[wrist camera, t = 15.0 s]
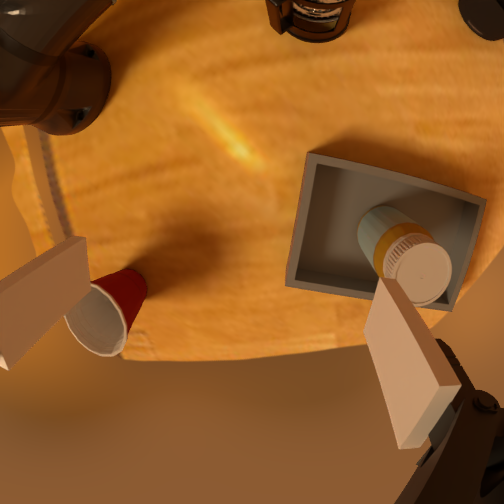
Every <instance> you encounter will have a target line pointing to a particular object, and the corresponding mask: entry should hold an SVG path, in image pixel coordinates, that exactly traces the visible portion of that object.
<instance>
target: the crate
mask: <svg viewBox="0 0 504 504" xmlns="http://www.w3.org/2000/svg"><path fill="white" fill-rule="evenodd" d="M486 201H487V200H486V199H484V198H481V197H478V196H475V195H472V194H470V193H467V192H464V191H460V190H457V189H454V188H451V187H448V186H445V185H441V184H438V183H435V182H431V181H428V180H424V179H421V178H417V177H414V176H410V175H406V174H402V173H399V172H395V171H391V170H387V169H383V168H379V167H375V166H370V165H366V164H362V163H357V162H353V161H348V160H344V159H339V158H334V157H329V156H324V155H319V154H314V153H308V152H307V156H306V162H305V168H304V174H303V180H302V185H301V191H300V197H299V203H298V208H297V214H296V219H295V225H294V230H293V236H292V241H291V246H290V252H289V257H288V262H287V267H286V276H285V286H287V287H293V288H299V289H305V290H311V291H317V292H323V293H329V294H335V295H341V296H348V297H354V298H360V299H367V300H373V299H374V295H375V292H376V288H377V285H378V281H379V277H378V275H377V274H376V272H375V270H374V269H373V267H372V265H371V264H370V262H369V260H368V259H367V257H366V256H365V254H364V252H363V251H362V249H361V247H360V245H359V243H358V240H357V227H358V224H359V222H360V220H361V218H362V216H363V215H364V214H365V213H366V212H367V211H368V210H370V209H372V208H374V207H376V206H382V205H385V206H390V207H393V208H395V209H397V210H398V211H400V212H402V213H403V214H405V215H406V216H408V217H409V218H410V219H412V220H413V221H415V222H416V223H418V224H419V225H421V226H422V227H424V228H425V229H426V230H427V231H428V232H429V233H430V234H431V236H432V237H433V239H434V241H435V242H437V243H438V244H439V245H440V246H442V247H443V248H444V249H445V251H446V252H447V254H448V255H449V257H450V260H451V265H452V274H451V279H450V282H449V284H448V286H447V288H446V290H445V291H444V292H443V294H442V295H441V296H440V297H439V298H438V299H436V300H435V301H433V302H432V303H430V304H427V305H424V306H419V307H421V308H428V309H435V310H442V311H449V312H452V310H453V307H454V305H455V302H456V300H457V297H458V295H459V292H460V289H461V286H462V284H463V281H464V278H465V275H466V272H467V269H468V266H469V263H470V260H471V257H472V254H473V250H474V247H475V244H476V240H477V237H478V233H479V229H480V226H481V222H482V218H483V214H484V210H485V205H486Z"/></svg>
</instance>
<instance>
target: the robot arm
mask: <svg viewBox="0 0 504 504" xmlns="http://www.w3.org/2000/svg"><path fill="white" fill-rule="evenodd" d="M116 1H117V0H0V127H3V126H15V125H32V126H34V127H36V128H38V129H40V130H42V131H44V132H46V133H48V134H52V135H72V134H75V133H78V132H80V131H82V130H83V129H85V128H86V127H87V126H89V125H90V124H91V123H92V122H93V121H94V120H95V118H96V117H97V116H98V114H99V113H100V111H101V110H102V108H103V106H104V104H105V102H106V99H107V96H108V93H109V89H110V83H111V69H110V64H109V61H108V58H107V56H106V55H105V53H104V52H103V51H102V50H101V49H100V48H98V47H97V46H95V45H92V44H90V43H87V42H83V41H76V40H77V39H78V38H79V37H80V36H81V35H82V34H83V33H84V32H85V31H86V30H87V29H88V27H89V26H90V25H91V24H92V23H93V22H94V21H95V20H96V19H97V18H98V17H99V16H101V15H102V14H103V13H104V12H105V11H106V10H107V9H108V8H109V7H110V6H111V5H114V4H115V3H116ZM90 291H91V284H90V276H89V267H88V257H87V245H86V237H79V236H72V237H70V238H69V239H67V240H65V241H63V242H62V243H60V244H58V245H57V246H55V247H53V248H51V249H50V250H48V251H46V252H45V253H43V254H41V255H40V256H38V257H36V258H35V259H33V260H32V261H30V262H28V263H27V264H25V265H24V266H22V267H21V268H19V269H18V270H16V271H14V272H13V273H11V274H10V275H8V276H7V277H5V278H4V279H2V280H1V281H0V366H1V367H3V368H5V369H6V370H8V371H9V370H10V369H11V368H12V367H13V366H14V365H15V364H16V363H17V362H18V361H19V360H20V359H21V358H22V357H23V356H24V355H25V353H26V352H27V351H28V350H29V349H30V348H31V347H32V346H33V345H34V344H35V343H36V342H37V341H38V340H39V339H40V338H41V337H42V336H43V335H44V334H45V333H46V332H47V331H48V330H49V329H50V328H52V327H53V326H54V325H55V324H56V323H57V322H58V321H59V320H60V319H61V318H62V317H63V316H64V315H65V314H66V313H67V312H68V311H69V310H70V309H71V308H73V307H74V306H75V305H76V304H77V303H78V302H79V301H80V300H81V299H82V298H83V297H84V296H85V295H87V294H88V293H89V292H90ZM363 332H364V335H365V338H366V341H367V344H368V347H369V350H370V353H371V356H372V359H373V362H374V365H375V368H376V371H377V375H378V378H379V381H380V384H381V387H382V391H383V394H384V397H385V401H386V404H387V408H388V411H389V415H390V418H391V422H392V426H393V429H394V433H395V437H396V440H397V444H398V447H399V449H408V448H419V447H420V446H421V445H422V444H423V442H424V441H425V440H426V438H427V437H428V436H429V438H430V441H431V444H432V445H431V446H430V448H429V449H428V450H427V451H426V453H425V454H424V455H423V456H422V458H421V459H420V460H419V461H418V462H417V464H416V465H418V467H417V469H416V471H415V472H414V474H413V476H412V477H411V479H410V481H409V482H408V484H407V485H406V487H405V488H404V490H403V491H402V493H401V494H400V496H399V497H398V499H397V500H396V502H395V503H394V504H504V408H500V405H499V403H498V401H497V400H496V399H495V398H494V397H493V396H492V395H490V394H489V393H487V392H485V391H482V390H475V388H474V386H473V384H472V383H471V381H470V379H469V377H468V376H467V374H466V372H465V371H464V369H463V367H462V366H460V362H459V361H458V359H457V358H455V357H456V356H455V354H454V353H453V351H452V350H451V348H450V347H449V346H448V345H447V344H446V343H445V342H443V341H442V340H441V339H435V338H434V337H433V335H432V333H431V332H430V330H429V329H428V327H427V325H426V324H425V322H424V321H423V319H422V318H421V316H420V315H419V313H418V311H417V310H416V308H415V307H414V305H413V304H412V302H411V301H410V299H409V298H408V296H407V295H406V293H405V292H404V290H403V289H402V287H401V286H400V284H399V283H398V282H397V280H396V279H392V278H384V277H380V278H379V281H378V285H377V288H376V292H375V295H374V299H373V302H372V305H371V309H370V312H369V315H368V318H367V322H366V325H365V328H364V331H363Z"/></svg>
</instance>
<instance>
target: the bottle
mask: <svg viewBox="0 0 504 504" xmlns="http://www.w3.org/2000/svg"><path fill="white" fill-rule="evenodd" d="M357 240H358V243H359V245H360V247H361V249H362V251H363V252H364V254H365V256H366V257H367V259H368V260H369V262H370V264H371V265H372V267H373V269H374V270H375V272H376V274H377V275H378V277H379V278H380V277H384V278H392V279H396V280H397V282H398V283H399V284H400V286H401V287H402V289H403V290H404V292H405V293H406V295H407V296H408V298H409V299H410V301H411V302H412V304H413V305H414V307H419V306H424V305H427V304H430V303H432V302H433V301H435V300H436V299H438V298H439V297H440V296H441V295H442V294H443V292H444V291H445V290H446V288H447V286H448V284H449V282H450V279H451V274H452V265H451V260H450V257H449V255H448V254H447V252H446V251H445V249H444V248H443V247H442V246H440V245H439V244H438V243H437V242H435V241H434V239H433V237H432V236H431V234H430V233H429V232H428V231H427V230H426V229H425V228H424V227H422V226H421V225H419V224H418V223H416V222H415V221H413V220H412V219H410V218H409V217H408V216H406V215H405V214H403V213H402V212H400V211H398V210H397V209H395V208H393V207H390V206H385V205H382V206H376V207H374V208H372V209H370V210H368V211H367V212H366V213H365V214H364V215H363V216H362V218H361V220H360V222H359V224H358V227H357Z"/></svg>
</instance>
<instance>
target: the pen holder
mask: <svg viewBox="0 0 504 504" xmlns="http://www.w3.org/2000/svg"><path fill="white" fill-rule="evenodd" d="M459 10H460V13H461V15H462V17H463V19H464V21H465V22H466V24H467V25H468V26H469V28H470V29H471V30H472V31H473V32H475V33H476V34H477V35H479V36H480V37H482V38H484V39H486V40H490V41H495V40H499V39H502V38H504V0H459Z"/></svg>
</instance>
